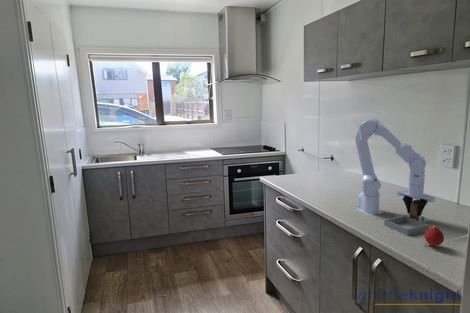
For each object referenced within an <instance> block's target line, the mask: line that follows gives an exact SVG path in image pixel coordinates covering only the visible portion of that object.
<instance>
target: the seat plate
mask: <svg viewBox="0 0 470 313" xmlns="http://www.w3.org/2000/svg"><path fill="white" fill-rule="evenodd" d="M400 216H401V215H398V216H397V217H400ZM402 216H407V217H409V216H410V213H407V214H404V215H403V214H402ZM414 219H415V220H417V219H416V218H414ZM417 221H420V222H423V223H425V222H429V221H431V219H429V218H426V217H425V216H422V215H421V216H419V219H418V220H417Z"/></svg>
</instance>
